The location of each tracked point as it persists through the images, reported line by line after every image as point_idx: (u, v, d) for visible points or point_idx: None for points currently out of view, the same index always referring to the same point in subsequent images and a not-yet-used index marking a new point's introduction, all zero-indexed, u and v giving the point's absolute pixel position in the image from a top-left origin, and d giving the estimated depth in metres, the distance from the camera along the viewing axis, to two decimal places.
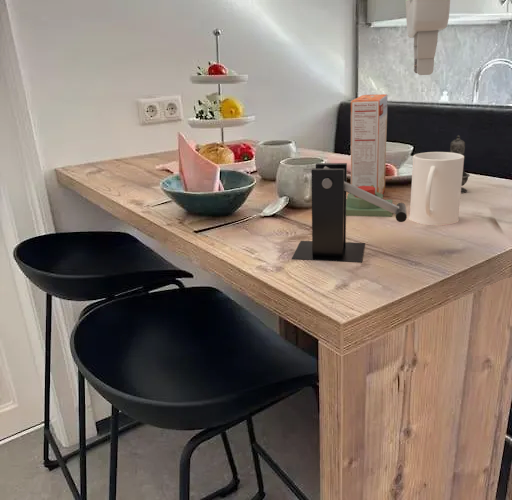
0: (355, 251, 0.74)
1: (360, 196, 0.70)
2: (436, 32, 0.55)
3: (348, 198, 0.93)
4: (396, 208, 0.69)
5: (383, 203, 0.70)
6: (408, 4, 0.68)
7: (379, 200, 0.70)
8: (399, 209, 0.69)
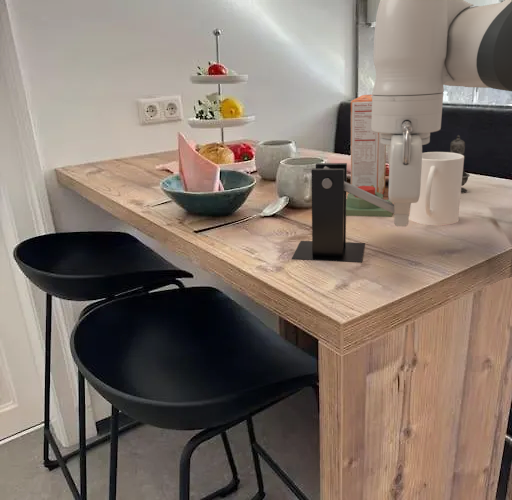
0: (355, 251, 0.74)
1: (360, 196, 0.70)
2: None
3: (348, 198, 0.93)
4: None
5: (383, 203, 0.70)
6: (389, 146, 0.75)
7: (379, 200, 0.70)
8: None
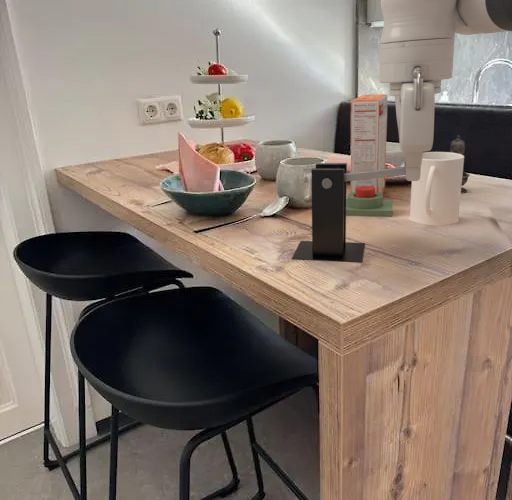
0: (355, 251, 0.74)
1: (365, 177, 0.69)
2: None
3: (348, 198, 0.93)
4: (403, 169, 0.67)
5: (389, 171, 0.68)
6: (397, 102, 0.73)
7: (384, 171, 0.68)
8: None
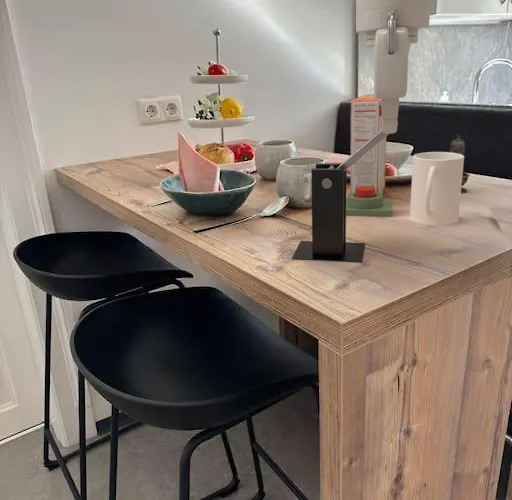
0: (355, 251, 0.74)
1: (357, 157, 0.68)
2: None
3: (348, 198, 0.93)
4: None
5: (374, 139, 0.67)
6: None
7: (370, 141, 0.67)
8: None
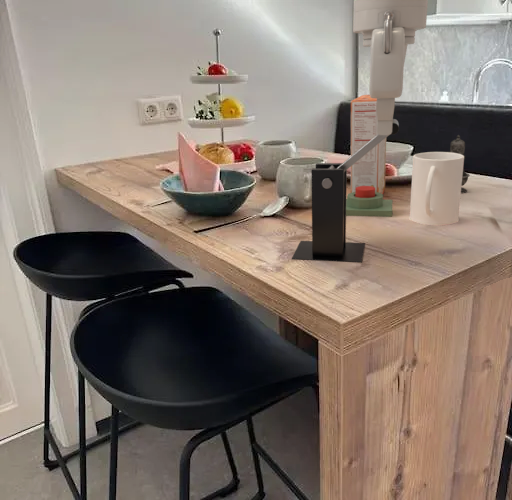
0: (355, 251, 0.74)
1: (358, 158, 0.68)
2: (393, 98, 0.59)
3: (348, 198, 0.93)
4: None
5: (375, 139, 0.67)
6: None
7: (370, 142, 0.67)
8: None
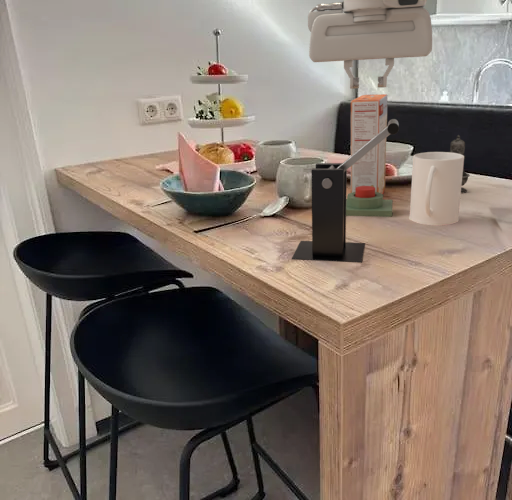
0: (355, 251, 0.74)
1: (358, 158, 0.68)
2: None
3: (348, 198, 0.93)
4: (386, 129, 0.66)
5: (375, 139, 0.67)
6: None
7: (370, 142, 0.67)
8: (387, 127, 0.66)
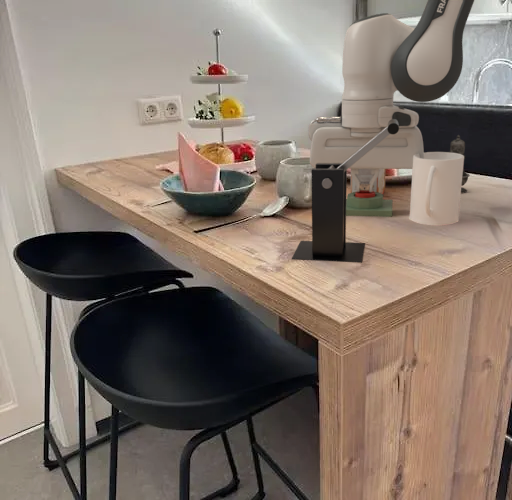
0: (355, 251, 0.74)
1: (358, 158, 0.68)
2: None
3: (348, 198, 0.93)
4: (386, 129, 0.66)
5: (375, 139, 0.67)
6: None
7: (370, 142, 0.67)
8: (387, 127, 0.66)
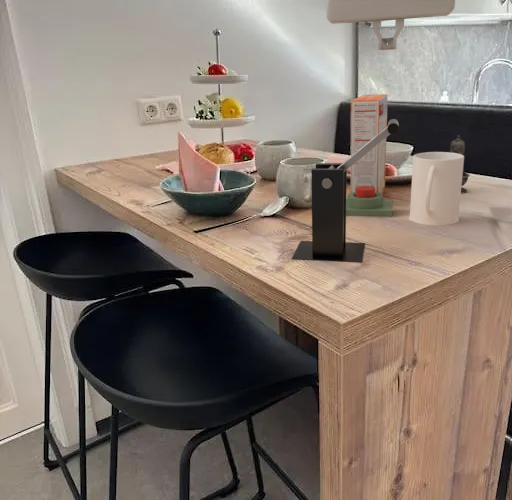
0: (355, 251, 0.74)
1: (358, 158, 0.68)
2: None
3: (348, 198, 0.93)
4: (386, 129, 0.66)
5: (375, 139, 0.67)
6: None
7: (370, 142, 0.67)
8: (387, 127, 0.66)
